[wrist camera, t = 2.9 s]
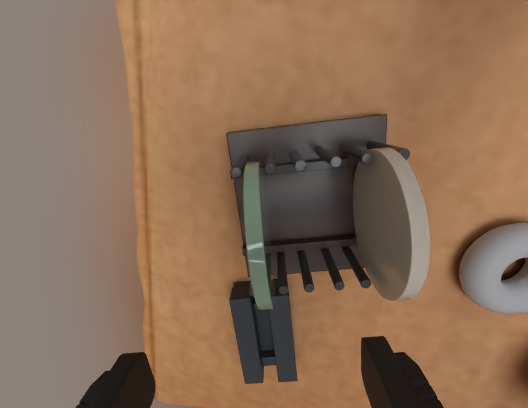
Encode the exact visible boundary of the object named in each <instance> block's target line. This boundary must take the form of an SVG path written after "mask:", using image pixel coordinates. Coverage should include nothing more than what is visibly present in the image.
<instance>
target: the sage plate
mask: <svg viewBox="0 0 528 408" xmlns="http://www.w3.org/2000/svg"><path fill="white" fill-rule="evenodd" d="M243 205H244V225H245V238H246V248H247V257H248V265H249V272H250V279H251V285H252V290H253V294H254V299H255V302H256V305H257V307H258V309H259V310H260V311H263V310H273V309H274V308H275V275H274V259H273V246H272V235H271V225H270V215H269V206H268V198H267V191H266V184H265V177H264V172H263V167H262V164H261V162H260V161H255V162H248V163H246V165H245V170H244V181H243Z"/></svg>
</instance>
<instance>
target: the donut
mask: <svg viewBox="0 0 528 408" xmlns="http://www.w3.org/2000/svg"><path fill="white" fill-rule="evenodd" d="M520 258H525V264H524V265H523V267H522V269H521V270H520V271H519V272H518V273H517V274H516V275H514V276H513V277H511V278H509V279H506V280H501V276H502V274H503V272H504V270H505V269H506V268H507V267H508V266H509V265H510V264H511V263H513V262H514V261H516V260H518V259H520ZM459 279H460V282H461V285H462V288H463V290H464V292H465V293H466V294H467V295H468V296H469V297H470V299H471V300H472V301H473V302H474V303H476V304H477V305H479V306H481V307H483V308H485V309H487V310H489V311H493V312H498V313H504V314H515V313H525V312H528V223H516V224H508V225H502V226H500V227H497V228H495V229H492V230H490V231H488V232H486V233H485V234H483V235H482V236H480V237H479V238H478V239H476V240H475V241H474V242H473V243H472V244H471V246H470V247H469V248H468V249H467V250H466V251H465V253H464V256H463V258H462V260H461V262H460V267H459Z"/></svg>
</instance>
